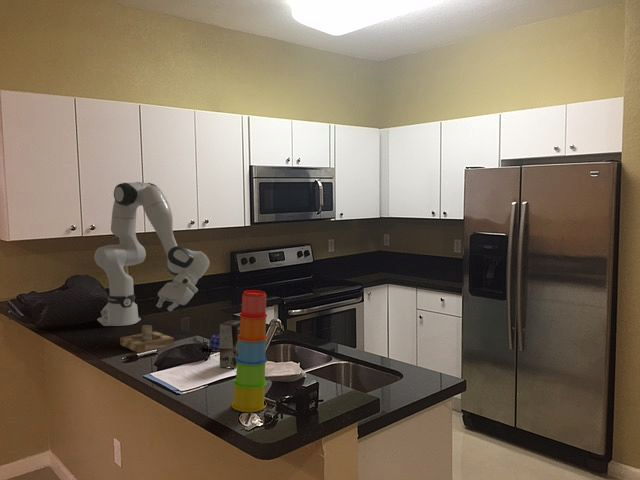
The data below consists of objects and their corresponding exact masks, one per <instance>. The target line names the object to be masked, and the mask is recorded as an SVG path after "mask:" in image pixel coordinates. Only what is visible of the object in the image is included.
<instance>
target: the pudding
mask: <svg viewBox="0 0 640 480" xmlns="http://www.w3.org/2000/svg"><path fill="white" fill-rule="evenodd" d="M207 345H209V348H210V349H212V352H218V351H220V334H213V335H211V336H210V339H209V344H207ZM209 348H208V349H209Z"/></svg>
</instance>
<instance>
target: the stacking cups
mask: <svg viewBox="0 0 640 480" xmlns="http://www.w3.org/2000/svg"><path fill="white" fill-rule="evenodd" d="M241 299H242V300H241V312H240V314H239V317H240V320H241V321H240V335H239V336H238V339H239V347H238V357H237V358H236V362H237V368H236V374H235V379H234V380H233V385H234V399H233V401H232V403H231V407H232V408H233V409H234V410H236V411H238V412H242V413H255V412H260V411H262V410H265V409H266V407H267V406H266V405H267V403H266V405H265V406H264V401H265V396H266V395H265V393H266V391H265V389H266V388H265V387H266V386H267V384H268V381H267V380H266V379H265V378H266V363H267V361H268V359H267V358H266V342H267V340H268V336H267V334H266V329H267V326H266V325H267V318H268V314H267V313H266V312H267V294H266V292H265V291H263V290H257V289H249V290H244V292H243V293H242V298H241Z"/></svg>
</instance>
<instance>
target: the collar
mask: <svg viewBox="0 0 640 480" xmlns="http://www.w3.org/2000/svg"><path fill="white" fill-rule="evenodd" d="M119 343H120V346H122V347H124V348H127V349H129V350H131V351H133V352H136V353H138V354H139V353H142V352H143V353H144V352H148V351H153V350H156V349H157V350H159V349H162V348H166V347H167V348H168V347H171V346H175V338H174V337H172V336H169V335H168V334H167V335H166V334H163V333H161V332H159V331H157V330H155V331H152V340H151V341H146V342H142V333H137V334H133V335H129V336H122V337H120V339H119Z"/></svg>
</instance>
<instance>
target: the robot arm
mask: <svg viewBox="0 0 640 480" xmlns="http://www.w3.org/2000/svg"><path fill="white" fill-rule="evenodd" d="M113 198H114V201H113V205H112V211H111V222H110V224H111V225H110V231H111V234H112V235H114V236H115V237H117V238H119V239H118V240H119V243H118V244H116V243H115V244H107V245H103V246H100V247H97V249H96V250H95V251H94V261H95V263H96V265H97V266H98V267H99V268H101V269H102V270H103V271H104V273H106V276H107V279H108V285H109V286H108V289H109V295H108V297H107V299H108V300H107V304H106V305H105V306H104V307H103V308H102V310H100V315H101V317H98V318H97V322H98V323H100V324H101V325H102V326H104V327H110V326H111V327H119V326H120V327H121V326H123V327H124V326H130V325H134V324H136V323H138V322H140V321H141V320H142V319H141V317H139V312H138V310H139V309H138V304H137V303H135V299H136V296H135V293H134V292H135V291H134V279H133V277H132V276H131V275H130V274H128V273H126V272H125V269H124V267H129V266H136V265H139V264H142V263H144V261H145V260H146V257H147V253H146V252H147V251H146V249H145V246H143V244H141V242H139V240H138V238H137V237H138V236H137V234H136V227H137V226H136V223H137V210H138V207H139V206H142V207H143V210H144V213H145V215H146V218H147V220H148V221H149V223H150V225H151V226H152V227H153V230H154V231H155V233H156V234H157V237H158V238H159V241H160V243H161V246H162V248H163V250H164V254H165V256H166V269H167V271H168V272H169V274H171V275H172V276H174V277H175V278H173V279H172V281H170V282H167V283H165V284H164V285H163V287H162V288H160V290H159V291H158V292H157V296H158V297H159V299H158V302H157V303H156V305H155V306H156V307H157V308H159V309H160V308H162V307H163V304H164V302H165V301H167V302H171V304H170V305H168V307H167V308H166V309H167V310H168V311H169V312H172V311H174V309H176V308H177V307H179V306H180V305H181V306H185V305H187V304H188V303H189V302H190V300H191V299H193V297H194V295H195V294H196V293H197V292H198V291H199V289H198V288H197V286H196V285H197V284H198V281H199V279H201V278H203V276H204V274H205V273H206V272H207V270H208V269H209V266H210V264H211V261H210V259H209V257H208V256H207V254H206V253H205V252H203V251H201V250H196V251H195V250H191V249H188V248H185V247H184V246H181V245H178V243H177V241H176V238H175V236H174V228H173V226H174V225H173V213H172V209H171V207H170V204H169V202H168V200H167V198H166V196H165V195H164V192H163V191H162V190H161V188H160V187H158V185H156V184H154V183H151V182H140V181H138V182H137V181H136V182H122V183H121V182H120V183H118V184H117V185H116V186H115V187H114V191H113Z"/></svg>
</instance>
